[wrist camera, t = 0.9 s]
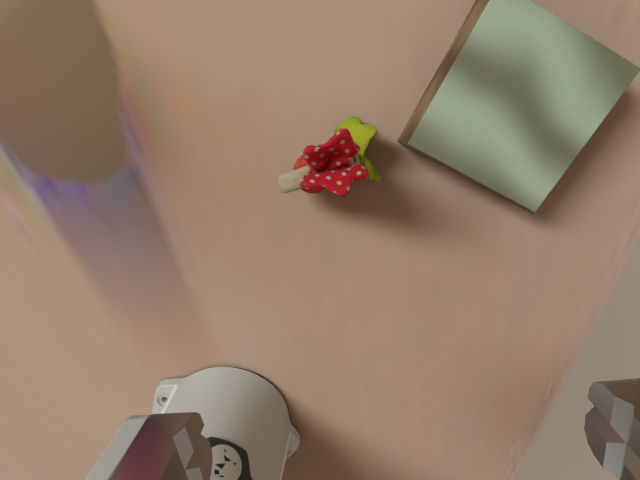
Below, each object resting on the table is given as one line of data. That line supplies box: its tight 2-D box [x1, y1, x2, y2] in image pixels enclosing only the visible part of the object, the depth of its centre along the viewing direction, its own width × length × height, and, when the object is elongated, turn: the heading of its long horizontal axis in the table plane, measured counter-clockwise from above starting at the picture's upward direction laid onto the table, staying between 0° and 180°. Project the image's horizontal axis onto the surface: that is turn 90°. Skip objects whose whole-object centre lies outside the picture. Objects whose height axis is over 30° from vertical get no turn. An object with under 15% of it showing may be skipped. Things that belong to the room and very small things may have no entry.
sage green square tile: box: [398, 0, 640, 214], centre depth 31 cm, size 13×13×4 cm
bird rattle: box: [277, 117, 382, 196], centre depth 31 cm, size 6×11×9 cm
